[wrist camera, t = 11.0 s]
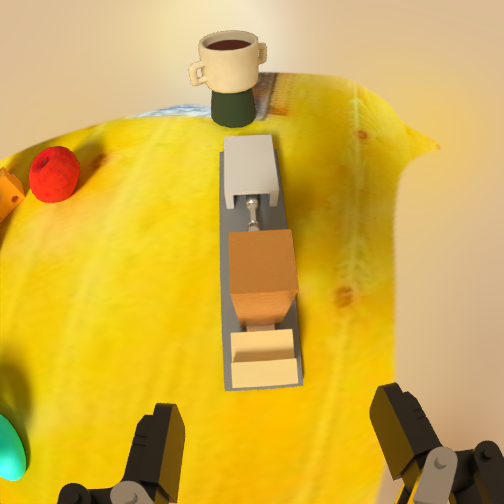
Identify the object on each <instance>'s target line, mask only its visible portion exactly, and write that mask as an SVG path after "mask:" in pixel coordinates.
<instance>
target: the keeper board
mask: <svg viewBox="0 0 504 504" xmlns="http://www.w3.org/2000/svg"><path fill="white" fill-rule="evenodd" d="M247 194H257V200H258V208H257V210H255V214H256V221H258V223H259V225H260V231H265V230H285V229H287V222H286V214H285V207H284V200H283V192H282V185H281V178H280V171H279V165H278V158H277V152H276V149H273V143H272V137H271V135H247V136H230V137H224V152H220V187H219V205H220V280H221V315H222V341H223V363H224V383H225V391H240V390H259V389H273V388H285V387H295V386H303V377H302V364H301V352H300V341H299V330H298V319H297V309H296V299H295V298H294V300H293V302H292V304H291V306H290V308H289V309H288V311H287V313H286V315H285V317H284V319H283V321H282V322H281V324H280V326H275V330H272V331H257V332H247V328H241V327H240V324H239V321H238V318H237V314H236V311H235V308H234V305H233V301H232V298H231V295H230V273H229V240H228V233H230V232H247V231H248V223H249V222H250V221H251V219H250V211H249V210H248V209H247V207H246V195H247Z"/></svg>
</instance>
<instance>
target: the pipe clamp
mask: <svg viewBox="0 0 504 504" xmlns="http://www.w3.org/2000/svg"><path fill="white" fill-rule="evenodd" d="M25 198H26V197H25V193H24V189H23V185H22V182H21V181H20V180H19V179H18V178H17V177H16V176H15V175H14V174H13V173H12V174H11V175H10V174H9V173H8V171H7V170H6V169H5V168H4V167H2V168H1V169H0V223H1V222H2V221H3V220H4V219H5V218H6V217H7V216H8V215H9V214H10V213H11V211H12V210H13V209H14V208H15V207H16V206H17V205H18V204H19V203H20V202H21V201H23V200H24V199H25Z"/></svg>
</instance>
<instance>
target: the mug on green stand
mask: <svg viewBox="0 0 504 504" xmlns="http://www.w3.org/2000/svg"><path fill="white" fill-rule="evenodd" d="M198 50H199V56H200V61H198V62H195V63H193V64H191V65H189V68H188V71H189V76H190V81H191V84H192V86H198V85H201V84H203V83H205V84H206V85H207V86H208V88H210V89H212V100H211V116H212V119H213V120H214V122H216V123H218V124H219V125H221V126H225V127H230V128H235V127H243V126H245V125H247V124H249V123H250V122H251V121H252V120H253V119H254V118H255V103H254V98H253V93H252V87H253V86H254V85H255V84H256V82H257V81H258V65H259V64H262V63H264V62H266V56H267V47H266V44H265V43H258V37H257V36H255V35H254V34H252V33H249V32H244V31H221V32H216V33H212V34H209V35H207V36H205V37H204V38H203V39H201V40H200V42H199V45H198ZM258 50H259V58H258ZM200 68H201V71H202V76H201V77H199V78H198V77H197V70H198V69H200Z"/></svg>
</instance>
